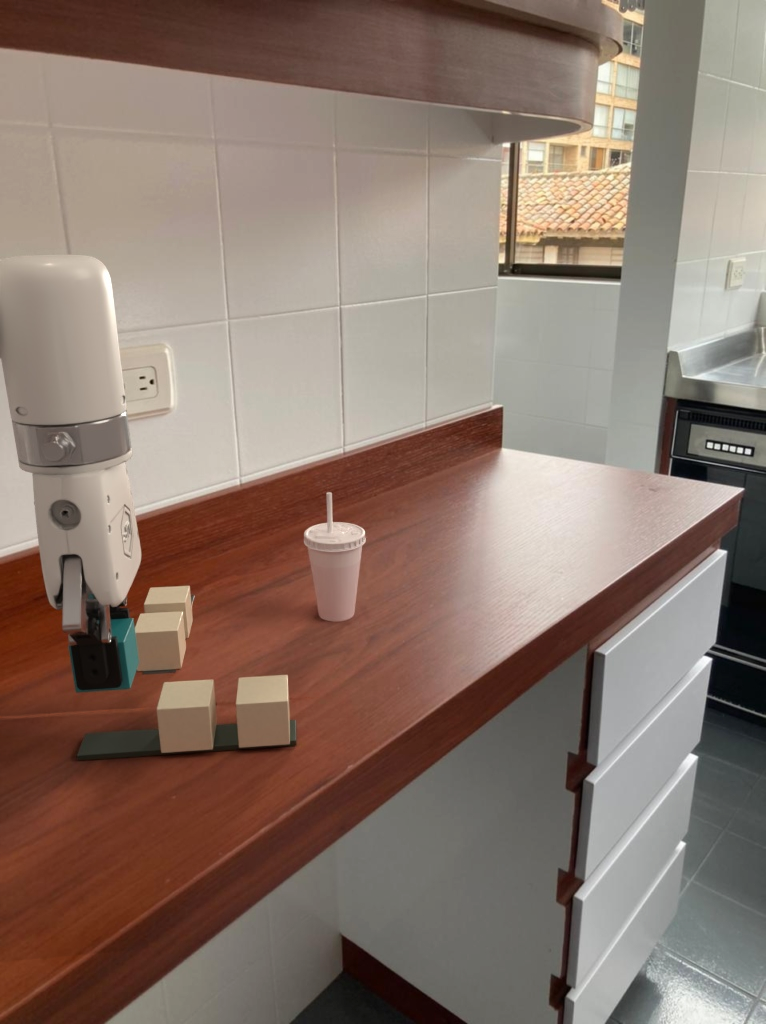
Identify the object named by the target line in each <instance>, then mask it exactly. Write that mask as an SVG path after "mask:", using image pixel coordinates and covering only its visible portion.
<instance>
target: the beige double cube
mask: <svg viewBox="0 0 766 1024" xmlns="http://www.w3.org/2000/svg"><path fill="white" fill-rule="evenodd" d="M194 600H195V594H191V586H190V585H178V586H177V585H176V586H158V587H157V586H156V587H149V590H148V593H147V595H146V597H145V600H144V603H143V611H144V612H143V613H142V612H141V613H139V616H138V618H137V621H136V623H135V625H134V627H135V634H136V642H137V650H138V658H139V664H138V667H137V670H136V672H142V674H141V675H158V674H159V675H160V674H171V673H172V674H174V673H176V670H182V667H183V663H184V658H185V655H186V651H187V643H186V642H187V641H186V639H190V638H189V637H190V634H191V631H192V626H193V621H194V617H193V603H194Z"/></svg>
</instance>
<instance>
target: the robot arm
mask: <svg viewBox="0 0 766 1024" xmlns="http://www.w3.org/2000/svg"><path fill="white" fill-rule="evenodd" d="M116 315H117V314H116V308H115V299H114V291H113V284H112V278H111V275H110V272H109V270H108V268H107V266H106V265H105V264H104V263H103V262H102V261H101V260H100V259H99V258H97V257H94V256H92V255H85V254H65V253H64V254H63V253H62V254H61V253H60V254H59V253H57V254H54V253H53V254H29V255H28V254H27V255H14V256H13V255H12V256H8V257H4V258H0V360H1V366H2V372H3V377H4V378H3V379H4V384H5V390H6V395H7V403H8V407H9V413H10V419H11V425H12V430H13V436H14V443H15V449H16V454H17V455H16V456H17V461H18V466H19V469H20V470H21V471H24V472H26V473H30V474H32V489H33V490H32V491H33V506H34V514H35V525H36V534H37V542H38V550H39V558H40V564H41V565H40V566H41V571H42V576H43V583H44V587H45V591H46V597H47V599H48V603H49V605H50V606H51V607H52V608H53V609H55V610H57V611H61V610H62V618H61V620H62V621H61V627H62V632H63V633H64V634H65V635H67V638H68V645H69V644H70V646H71V652H72V658H73V665H74V671H75V677H76V684H77V688H78V689H80V690H94V689H108V688H118V687H120V686H121V684H122V681H123V678H122V671H121V664H120V657H119V649H118V642H117V636H113V637H112V632H111V619H127V618H131V614H130V608H129V607H127V605H128V593H129V591H130V588H132V585H133V582H134V580H135V578H136V576H137V574H138V570H139V569H140V566H141V561H142V548H141V542H140V535H139V529H138V524H137V523H138V522H137V516H136V512H135V505H134V499H133V493H132V487H131V483H130V482H131V481H130V478H129V473H128V469H127V464H126V462H128V461H129V460H131V459H132V457H133V449H132V442H131V433H130V425H129V418H128V417H129V416H128V407H127V399H126V392H125V382H124V375H123V368H122V359H121V350H120V344H119V343H120V342H119V335H118V326H117V317H116ZM97 620H99V622H98V621H97Z"/></svg>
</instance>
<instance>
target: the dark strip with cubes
mask: <svg viewBox="0 0 766 1024" xmlns="http://www.w3.org/2000/svg"><path fill="white" fill-rule="evenodd" d="M161 687H162V688H161V690H160V695H159V699H158V702H157V706H156V719H157V720H156V721H157V728H147V729H146V728H145V729H131V730H115V731H101V732H100V731H99V732H88V733H87V732H86V733H85V734H84V735H83V739H82V741H81V744H80V746H79V749H78V752H77V753H76V761H78V762H80V761H94V760H95V761H96V760H108V759H109V760H110V759H122V758H137V757H149V756H150V757H152V756H165V755H180V754H182V755H183V754H193V753H195V754H196V753H208V752H209V753H210V752H223V751H237V750H251V749H267V748H280V747H281V748H282V747H296V746H297V719H291V712H290V695H289V694H290V693H289V692H290V691H289V675H288V674H277V675H276V674H275V675H261V676H260V675H259V676H245V677H243V676H242V677H238V679H237V688H236V689H237V690H236V691H237V692H236V698H235V715H236V723H223V724H222V723H221V724H217V723H218V715H217V704H216V692H215V681H214V678H213V679H211V678H210V679H196V680H179V681H164V682H163V684H162V686H161Z"/></svg>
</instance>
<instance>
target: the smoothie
mask: <svg viewBox="0 0 766 1024" xmlns="http://www.w3.org/2000/svg"><path fill="white" fill-rule="evenodd" d="M325 494H326V522H322V523H318V524H315V525H311V526H309V527H308V528H306V529H305V530H304V532H303V544H304V545H305V547H307V554H308V560H309V564H310V565H309V566H310V571H311V576H312V582H313V588H314V595H315V601H316V606H317V607H316V608H317V614H318V616H319V618H320V619H322V620H324V621H327V622H344V621H348V620H350V619H351V618H353V617H354V615H355V611H356V601H357V595H358V594H357V593H358V584H359V578H360V577H359V576H360V568H361V560H362V550H363V546H364V545H365V543H366V541H367V540H366V531H365V529H364V528H363V527H362V526H359V525H358V524H355V523H352V522H351V523H350V522H344V521H343V522H341V521H333V520H334V519H333V518H334V517H333V493H332V492H331V491H327V492H326V493H325Z"/></svg>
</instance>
